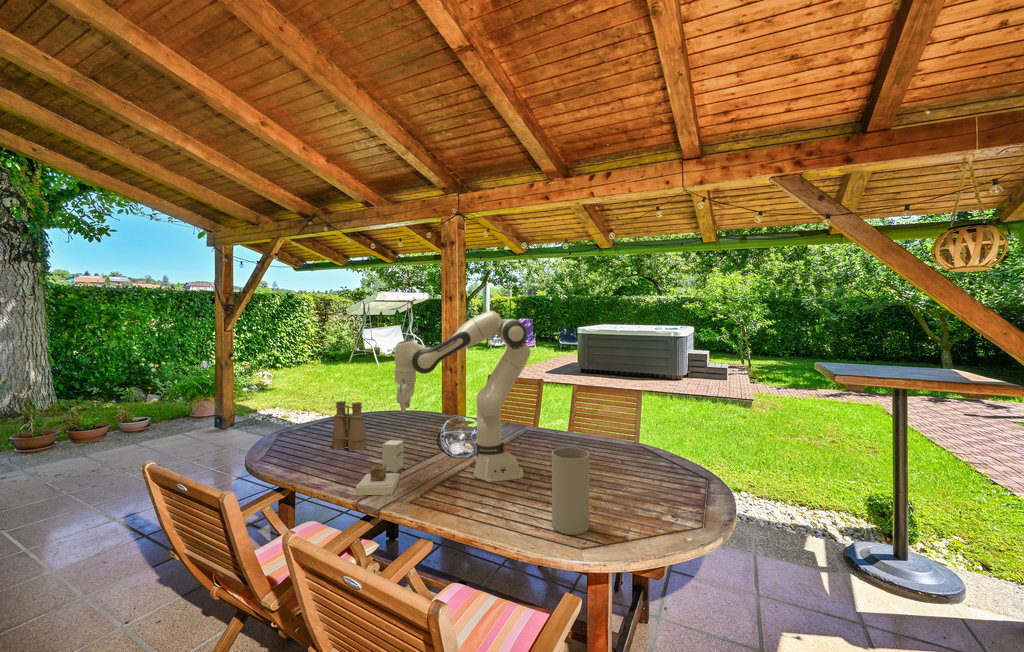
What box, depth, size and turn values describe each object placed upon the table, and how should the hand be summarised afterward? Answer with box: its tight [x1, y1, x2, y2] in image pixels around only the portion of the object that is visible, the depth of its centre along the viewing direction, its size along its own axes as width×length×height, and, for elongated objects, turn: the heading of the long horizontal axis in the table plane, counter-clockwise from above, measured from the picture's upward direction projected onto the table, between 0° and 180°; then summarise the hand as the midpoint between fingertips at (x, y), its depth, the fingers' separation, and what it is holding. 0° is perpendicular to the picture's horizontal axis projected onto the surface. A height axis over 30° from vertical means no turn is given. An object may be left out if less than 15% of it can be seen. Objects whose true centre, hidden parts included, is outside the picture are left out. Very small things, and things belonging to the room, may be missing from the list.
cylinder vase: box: [551, 446, 590, 536], centre depth 142 cm, size 12×12×25 cm
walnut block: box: [370, 464, 387, 482], centre depth 174 cm, size 5×5×5 cm
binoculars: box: [330, 400, 368, 451], centre depth 229 cm, size 21×10×25 cm, turn 70°
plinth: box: [355, 472, 400, 496], centre depth 174 cm, size 14×14×4 cm
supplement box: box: [381, 439, 404, 473], centre depth 197 cm, size 7×7×13 cm
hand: (405, 409), depth 182 cm, fingers open, 8 cm apart
